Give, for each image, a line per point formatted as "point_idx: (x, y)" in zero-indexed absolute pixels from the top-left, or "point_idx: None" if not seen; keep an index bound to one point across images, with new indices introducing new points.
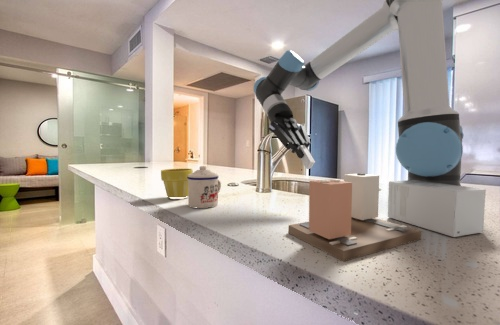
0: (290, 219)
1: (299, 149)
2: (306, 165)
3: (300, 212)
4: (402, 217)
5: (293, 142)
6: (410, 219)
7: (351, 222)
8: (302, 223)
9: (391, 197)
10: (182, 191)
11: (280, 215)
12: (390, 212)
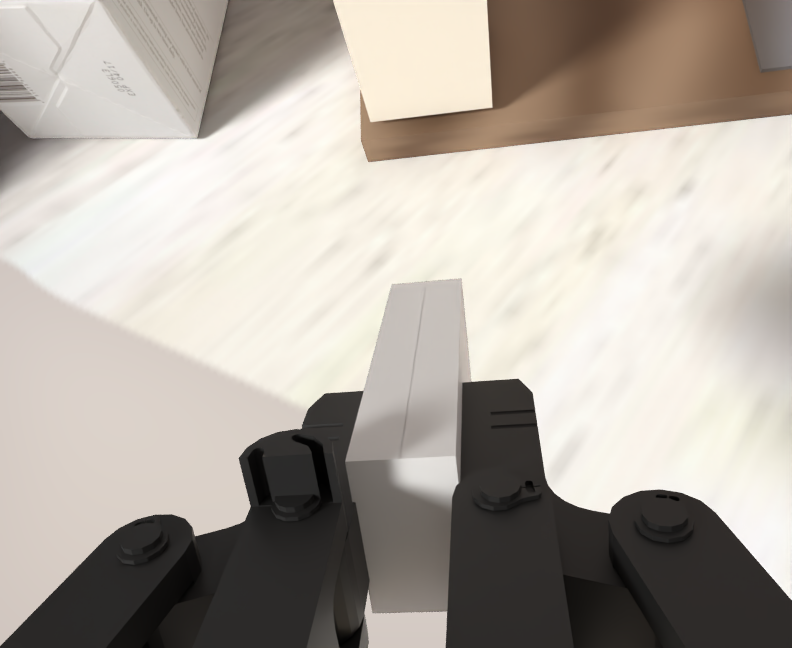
0: (735, 296)
1: (501, 449)
2: (469, 379)
3: (580, 412)
4: (206, 54)
5: (608, 521)
6: (214, 18)
7: (530, 31)
8: (785, 83)
9: (154, 47)
10: None
11: (761, 399)
12: (189, 107)
